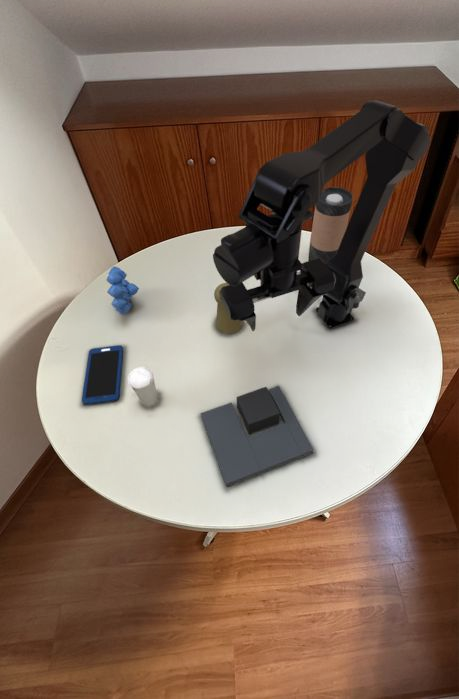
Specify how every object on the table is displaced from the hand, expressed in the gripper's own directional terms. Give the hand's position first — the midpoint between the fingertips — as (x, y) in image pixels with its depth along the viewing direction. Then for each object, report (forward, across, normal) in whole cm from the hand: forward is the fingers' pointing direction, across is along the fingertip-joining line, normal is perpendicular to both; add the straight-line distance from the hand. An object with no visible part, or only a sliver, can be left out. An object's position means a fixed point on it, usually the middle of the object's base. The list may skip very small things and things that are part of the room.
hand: (275, 321), depth 67 cm
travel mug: (+12, -23, -21) cm, 33 cm away
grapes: (+12, +25, -27) cm, 39 cm away
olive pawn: (+12, +5, -13) cm, 19 cm away
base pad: (+12, +10, +14) cm, 21 cm away
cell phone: (+12, +34, -10) cm, 37 cm away
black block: (+12, +8, +10) cm, 18 cm away
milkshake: (+12, +26, 0) cm, 29 cm away
